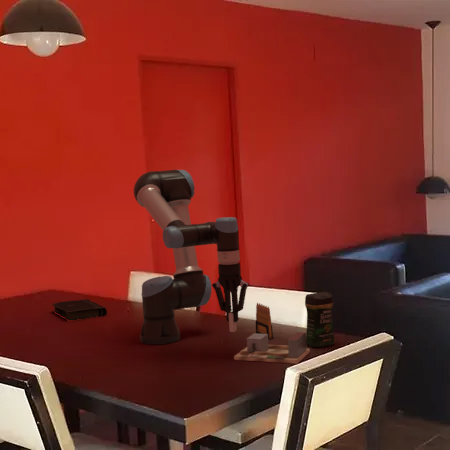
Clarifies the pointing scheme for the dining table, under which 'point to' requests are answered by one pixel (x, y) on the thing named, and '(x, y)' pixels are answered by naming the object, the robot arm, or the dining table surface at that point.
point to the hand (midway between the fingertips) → (233, 331)
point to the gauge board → (270, 355)
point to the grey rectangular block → (257, 343)
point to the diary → (79, 309)
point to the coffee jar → (319, 319)
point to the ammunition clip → (263, 320)
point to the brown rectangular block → (297, 345)
